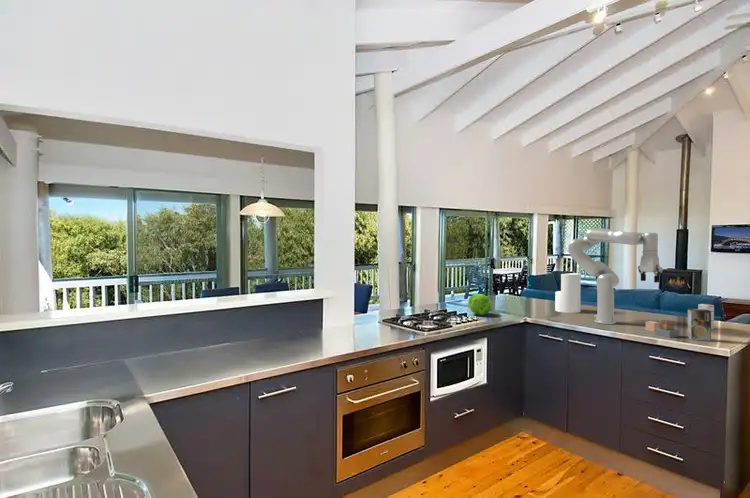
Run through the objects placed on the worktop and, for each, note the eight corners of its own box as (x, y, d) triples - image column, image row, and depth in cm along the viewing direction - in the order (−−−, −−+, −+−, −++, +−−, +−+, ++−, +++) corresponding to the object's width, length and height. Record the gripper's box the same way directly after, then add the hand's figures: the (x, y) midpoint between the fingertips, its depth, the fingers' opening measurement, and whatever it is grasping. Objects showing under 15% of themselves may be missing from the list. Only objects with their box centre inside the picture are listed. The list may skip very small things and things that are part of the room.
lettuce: (492, 316, 323) (494, 295, 324) (488, 318, 305) (491, 296, 305) (469, 312, 329) (471, 292, 330) (464, 314, 311) (467, 292, 311)
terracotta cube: (645, 330, 263) (645, 321, 263) (650, 329, 265) (650, 320, 265) (654, 331, 258) (654, 323, 258) (659, 330, 261) (659, 322, 261)
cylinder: (585, 311, 329) (585, 273, 328) (571, 313, 319) (572, 274, 318) (563, 308, 343) (564, 272, 342) (550, 310, 333) (550, 273, 333)
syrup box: (714, 329, 264) (714, 304, 264) (706, 329, 263) (707, 305, 262) (704, 327, 270) (705, 303, 269) (697, 327, 268) (697, 303, 268)
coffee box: (707, 338, 240) (707, 309, 240) (711, 341, 234) (711, 311, 234) (687, 337, 243) (687, 308, 243) (690, 339, 237) (691, 310, 237)
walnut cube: (659, 328, 250) (659, 319, 249) (666, 328, 250) (666, 319, 250) (666, 330, 245) (666, 321, 244) (674, 329, 246) (674, 320, 245)
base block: (655, 335, 250) (655, 328, 250) (664, 334, 253) (664, 327, 253) (669, 338, 242) (669, 331, 242) (679, 337, 246) (679, 329, 245)
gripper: (633, 252, 274) (633, 280, 274) (657, 253, 257) (657, 283, 257) (643, 252, 275) (643, 280, 276) (667, 253, 259) (667, 282, 259)
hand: (649, 281), depth 267 cm, fingers open, 9 cm apart
